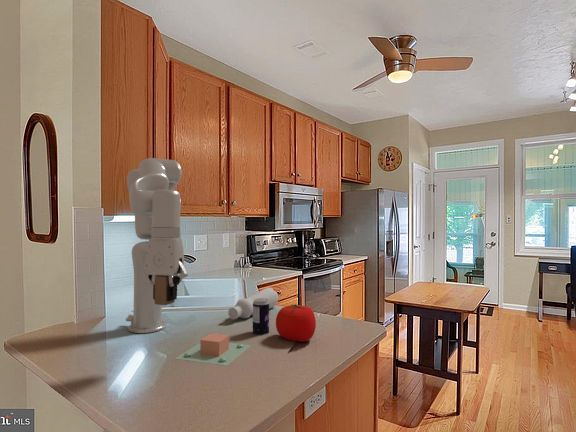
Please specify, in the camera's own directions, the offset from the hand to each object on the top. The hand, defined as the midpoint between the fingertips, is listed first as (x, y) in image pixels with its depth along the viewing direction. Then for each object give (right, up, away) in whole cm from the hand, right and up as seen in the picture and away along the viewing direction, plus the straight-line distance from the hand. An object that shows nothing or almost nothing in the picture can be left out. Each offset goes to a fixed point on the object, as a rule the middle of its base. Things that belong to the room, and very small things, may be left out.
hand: (165, 298), depth 95 cm
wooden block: (0, -2, 0) cm, 2 cm away
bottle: (+20, -19, +50) cm, 57 cm away
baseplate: (+13, -17, +4) cm, 22 cm away
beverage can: (+25, -18, +22) cm, 38 cm away
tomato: (+37, -18, +18) cm, 45 cm away
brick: (+13, -16, +4) cm, 21 cm away
